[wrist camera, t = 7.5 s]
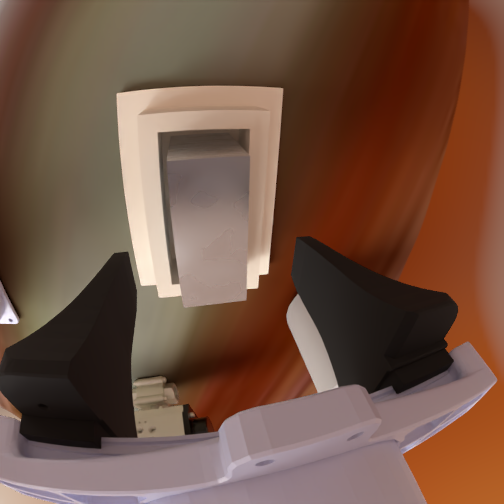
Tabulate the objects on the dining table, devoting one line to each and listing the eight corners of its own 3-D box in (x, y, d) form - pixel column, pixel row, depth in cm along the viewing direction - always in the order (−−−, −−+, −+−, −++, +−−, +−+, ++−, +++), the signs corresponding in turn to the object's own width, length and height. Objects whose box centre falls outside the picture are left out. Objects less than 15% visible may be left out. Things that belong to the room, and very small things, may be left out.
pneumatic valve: (206, 385, 32) (225, 477, 22) (118, 398, 31) (120, 485, 21) (194, 359, 29) (212, 466, 19) (98, 375, 28) (93, 472, 18)
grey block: (179, 249, 21) (183, 307, 16) (170, 135, 16) (166, 161, 11) (228, 244, 21) (246, 300, 16) (228, 132, 17) (250, 155, 12)
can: (268, 318, 28) (311, 428, 18) (317, 259, 25) (390, 367, 16) (320, 333, 31) (366, 424, 22) (365, 285, 29) (430, 373, 19)
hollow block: (142, 278, 22) (138, 313, 19) (120, 92, 15) (104, 95, 11) (264, 266, 24) (279, 298, 21) (278, 87, 17) (301, 90, 14)
